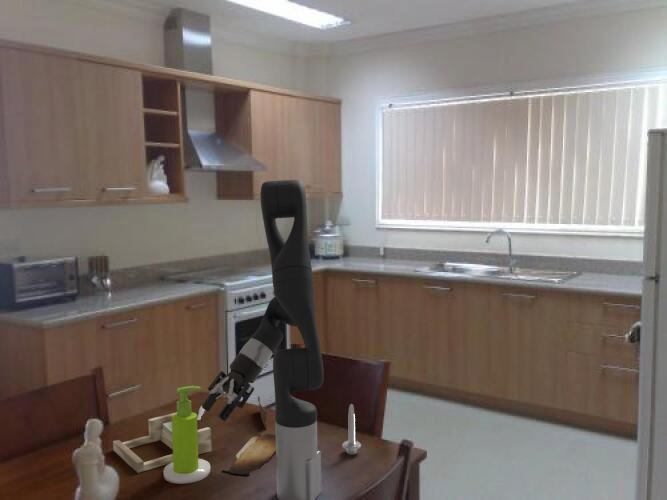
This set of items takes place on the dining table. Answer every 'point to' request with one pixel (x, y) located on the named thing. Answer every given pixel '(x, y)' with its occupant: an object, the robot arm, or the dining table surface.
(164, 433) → the offcut rack
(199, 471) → the ceramic trivet
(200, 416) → the butter knife
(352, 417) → the screw
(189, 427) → the soap dispenser
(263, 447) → the parchment
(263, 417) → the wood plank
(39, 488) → the dining table surface
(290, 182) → the robot arm
